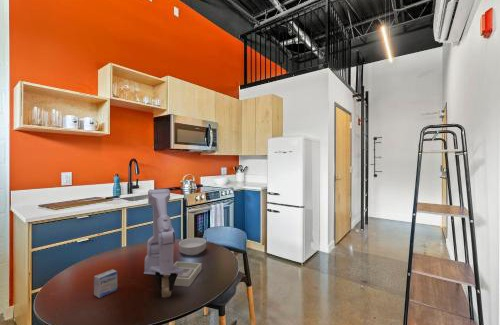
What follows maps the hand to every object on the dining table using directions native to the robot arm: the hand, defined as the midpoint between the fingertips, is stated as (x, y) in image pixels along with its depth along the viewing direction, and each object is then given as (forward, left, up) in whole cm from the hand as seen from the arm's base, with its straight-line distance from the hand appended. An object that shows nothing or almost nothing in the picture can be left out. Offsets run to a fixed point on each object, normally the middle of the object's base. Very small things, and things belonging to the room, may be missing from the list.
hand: (166, 289), depth 105 cm
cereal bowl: (-6, +46, -3) cm, 46 cm away
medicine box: (-27, -2, -3) cm, 27 cm away
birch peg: (0, 0, -2) cm, 2 cm away
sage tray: (0, +17, -2) cm, 17 cm away
